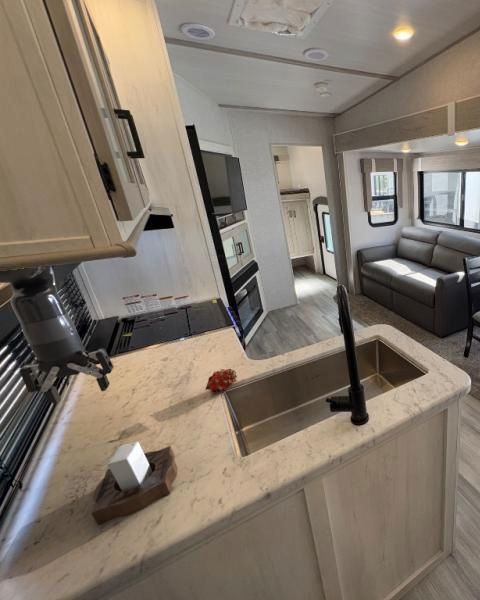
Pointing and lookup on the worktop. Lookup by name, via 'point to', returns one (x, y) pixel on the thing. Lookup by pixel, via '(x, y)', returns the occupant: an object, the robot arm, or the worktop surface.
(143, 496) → the hole block
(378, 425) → the worktop surface
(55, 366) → the robot arm
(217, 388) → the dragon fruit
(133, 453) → the cosmetic box
